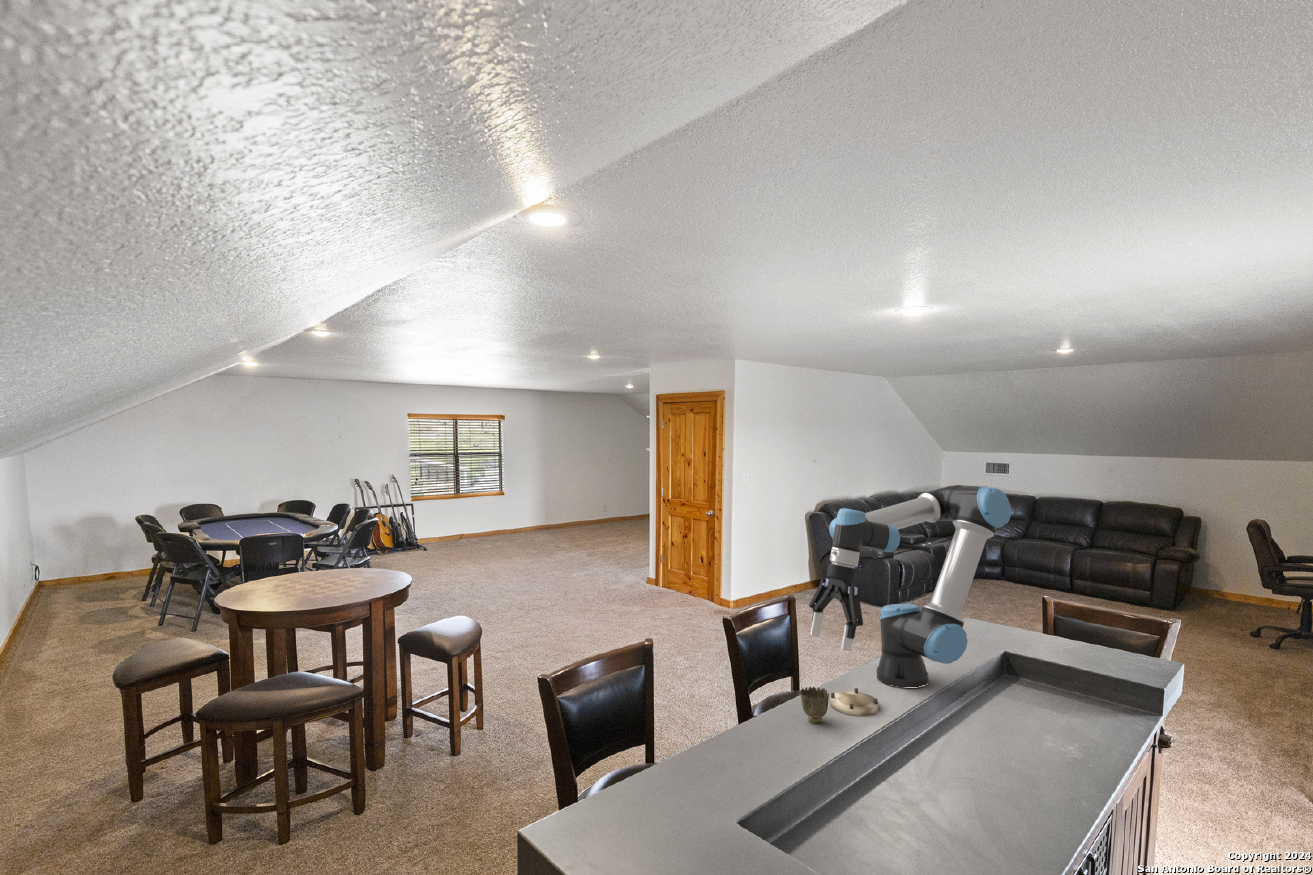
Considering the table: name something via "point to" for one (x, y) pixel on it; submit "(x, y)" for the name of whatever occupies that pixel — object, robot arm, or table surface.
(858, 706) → the seat plate
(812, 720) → the ornate scalloped bell shade
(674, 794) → the table surface
